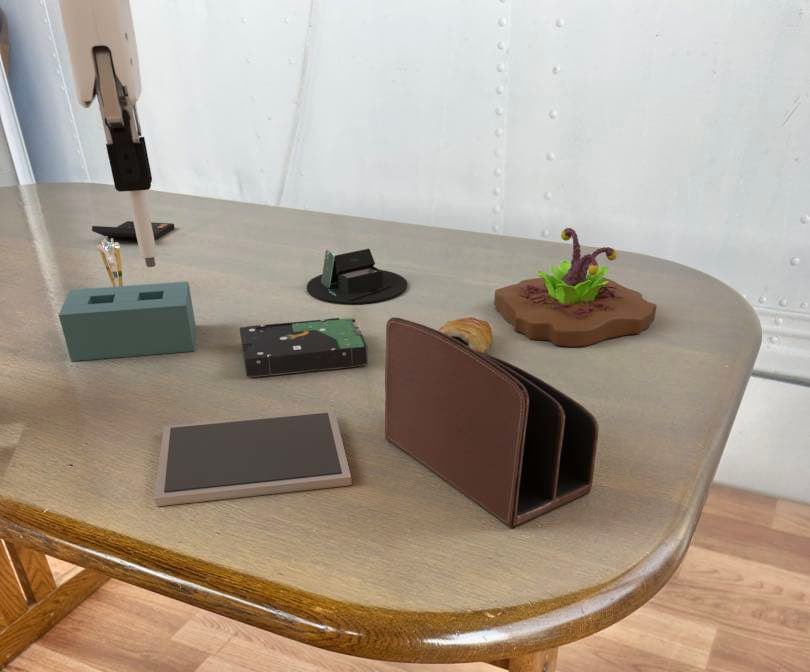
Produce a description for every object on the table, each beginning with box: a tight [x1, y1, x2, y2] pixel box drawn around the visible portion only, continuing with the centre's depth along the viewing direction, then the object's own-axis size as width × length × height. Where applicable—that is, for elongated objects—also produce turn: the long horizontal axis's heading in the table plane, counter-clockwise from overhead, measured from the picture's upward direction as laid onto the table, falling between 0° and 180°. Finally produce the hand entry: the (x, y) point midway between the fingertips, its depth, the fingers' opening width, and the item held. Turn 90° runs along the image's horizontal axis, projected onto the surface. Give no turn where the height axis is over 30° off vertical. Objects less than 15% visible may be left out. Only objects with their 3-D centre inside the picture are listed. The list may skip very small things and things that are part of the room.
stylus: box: [126, 190, 158, 268], centre depth 77 cm, size 2×2×13 cm
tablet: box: [154, 409, 353, 507], centre depth 81 cm, size 18×14×1 cm
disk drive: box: [239, 317, 369, 377], centre depth 100 cm, size 10×3×15 cm
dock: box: [58, 281, 197, 362], centre depth 103 cm, size 9×15×6 cm, turn 100°
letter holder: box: [384, 317, 600, 530], centre depth 75 cm, size 10×20×14 cm, turn 35°
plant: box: [493, 227, 657, 348], centre depth 108 cm, size 20×20×11 cm
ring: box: [95, 238, 124, 287], centre depth 117 cm, size 7×3×8 cm, turn 24°
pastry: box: [437, 316, 493, 354], centre depth 101 cm, size 9×7×4 cm
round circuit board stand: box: [306, 248, 408, 306], centre depth 120 cm, size 15×15×6 cm
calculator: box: [91, 220, 176, 241], centre depth 143 cm, size 9×12×3 cm
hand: (134, 185), depth 76 cm, fingers closed on stylus, 1 cm apart
